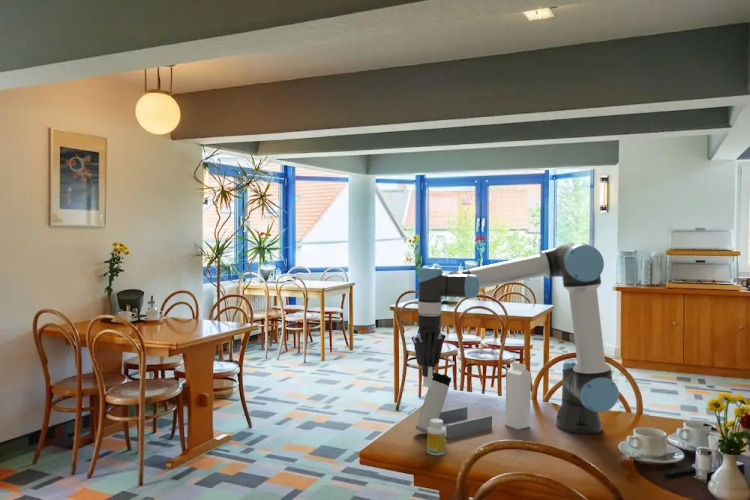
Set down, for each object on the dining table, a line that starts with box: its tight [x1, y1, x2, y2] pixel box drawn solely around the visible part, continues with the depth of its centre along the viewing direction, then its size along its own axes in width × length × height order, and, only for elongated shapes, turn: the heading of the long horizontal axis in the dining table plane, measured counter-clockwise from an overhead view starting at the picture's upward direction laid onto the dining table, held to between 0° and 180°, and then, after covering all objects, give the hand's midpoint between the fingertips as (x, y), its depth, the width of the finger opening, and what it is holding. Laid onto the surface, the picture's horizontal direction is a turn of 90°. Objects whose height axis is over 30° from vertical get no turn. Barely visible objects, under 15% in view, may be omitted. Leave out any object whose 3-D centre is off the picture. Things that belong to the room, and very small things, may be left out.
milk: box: [504, 361, 532, 430], centre depth 201 cm, size 6×6×22 cm
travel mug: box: [415, 372, 452, 434], centre depth 191 cm, size 6×7×20 cm
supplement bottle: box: [426, 419, 446, 456], centre depth 174 cm, size 5×5×10 cm
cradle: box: [439, 405, 493, 440], centre depth 197 cm, size 13×20×4 cm, turn 125°
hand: (427, 385), depth 189 cm, fingers closed
